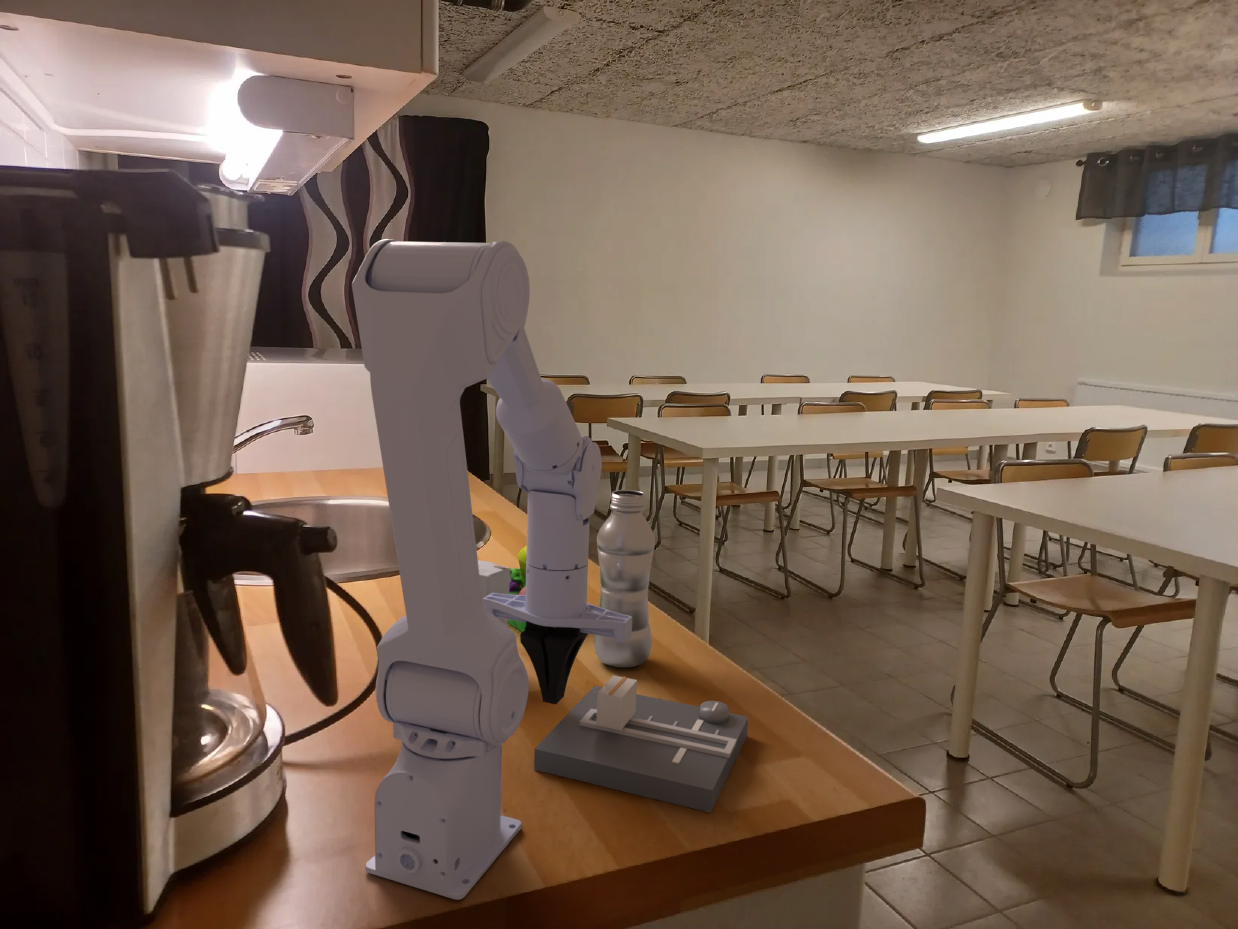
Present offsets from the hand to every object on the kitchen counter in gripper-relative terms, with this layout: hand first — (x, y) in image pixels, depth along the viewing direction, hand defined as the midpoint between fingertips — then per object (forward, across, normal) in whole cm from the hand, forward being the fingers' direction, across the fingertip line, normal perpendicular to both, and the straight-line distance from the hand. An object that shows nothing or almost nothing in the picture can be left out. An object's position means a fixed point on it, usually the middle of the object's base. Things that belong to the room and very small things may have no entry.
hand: (553, 699), depth 82 cm
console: (+3, -9, 0) cm, 10 cm away
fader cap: (+1, -6, 0) cm, 6 cm away
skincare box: (+3, +14, -9) cm, 17 cm away
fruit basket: (+4, +16, -26) cm, 30 cm away
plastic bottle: (+3, 0, -18) cm, 18 cm away
